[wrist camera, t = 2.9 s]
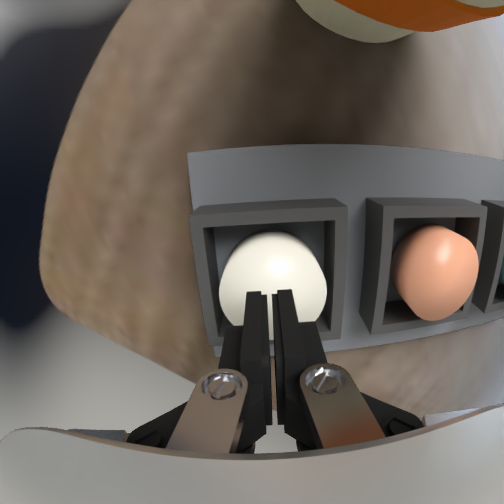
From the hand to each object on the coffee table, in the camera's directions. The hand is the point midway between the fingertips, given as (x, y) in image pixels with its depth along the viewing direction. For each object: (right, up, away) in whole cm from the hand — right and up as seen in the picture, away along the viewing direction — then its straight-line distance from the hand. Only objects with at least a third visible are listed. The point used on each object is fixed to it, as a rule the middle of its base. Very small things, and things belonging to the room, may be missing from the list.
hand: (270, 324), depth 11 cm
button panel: (+9, +3, +7) cm, 12 cm away
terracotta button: (+9, +2, +4) cm, 10 cm away
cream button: (0, +2, +4) cm, 5 cm away
